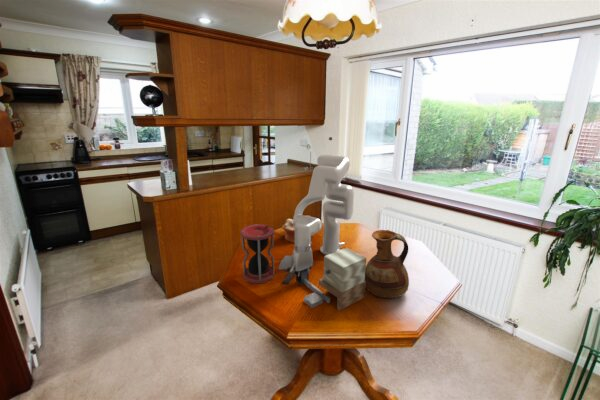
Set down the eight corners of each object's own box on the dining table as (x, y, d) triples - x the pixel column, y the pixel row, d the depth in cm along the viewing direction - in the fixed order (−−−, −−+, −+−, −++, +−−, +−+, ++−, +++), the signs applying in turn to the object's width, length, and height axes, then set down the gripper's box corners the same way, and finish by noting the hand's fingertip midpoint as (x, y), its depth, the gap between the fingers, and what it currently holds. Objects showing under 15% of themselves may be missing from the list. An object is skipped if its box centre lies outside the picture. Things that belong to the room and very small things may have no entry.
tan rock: (277, 239, 190) (276, 218, 186) (305, 229, 207) (305, 209, 203) (291, 246, 180) (291, 224, 176) (319, 235, 198) (320, 214, 193)
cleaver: (293, 285, 141) (293, 282, 140) (273, 284, 142) (273, 280, 141) (299, 257, 169) (299, 254, 168) (282, 256, 170) (282, 253, 169)
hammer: (302, 278, 146) (303, 266, 144) (332, 301, 129) (333, 288, 127) (296, 281, 143) (296, 269, 141) (325, 305, 127) (326, 291, 124)
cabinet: (343, 282, 143) (345, 246, 137) (364, 297, 132) (368, 258, 126) (318, 294, 134) (319, 255, 128) (339, 310, 123) (341, 269, 117)
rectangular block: (314, 296, 133) (314, 292, 132) (322, 303, 128) (322, 299, 127) (303, 301, 129) (303, 297, 129) (312, 308, 125) (312, 304, 124)
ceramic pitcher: (360, 278, 147) (364, 223, 138) (400, 279, 147) (407, 224, 138) (367, 302, 129) (373, 241, 120) (413, 303, 128) (422, 242, 119)
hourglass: (276, 281, 144) (275, 235, 136) (243, 285, 141) (241, 238, 133) (272, 265, 159) (271, 222, 151) (242, 268, 156) (240, 225, 148)
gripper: (311, 239, 145) (310, 271, 150) (283, 248, 135) (283, 282, 141) (321, 245, 139) (320, 278, 145) (292, 254, 130) (292, 290, 135)
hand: (302, 280), depth 143 cm, fingers closed on hammer, 4 cm apart
